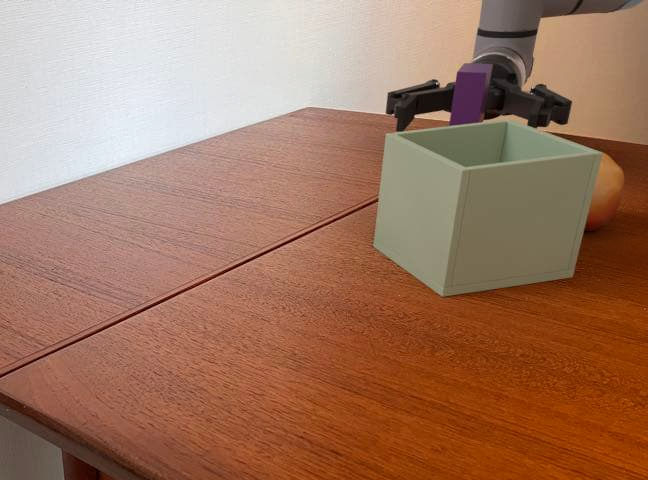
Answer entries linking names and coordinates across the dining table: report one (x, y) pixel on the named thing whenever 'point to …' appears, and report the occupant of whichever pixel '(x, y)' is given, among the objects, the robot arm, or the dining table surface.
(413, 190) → the bin
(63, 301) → the dining table surface
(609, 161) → the fruit
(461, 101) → the purple rectangular block
